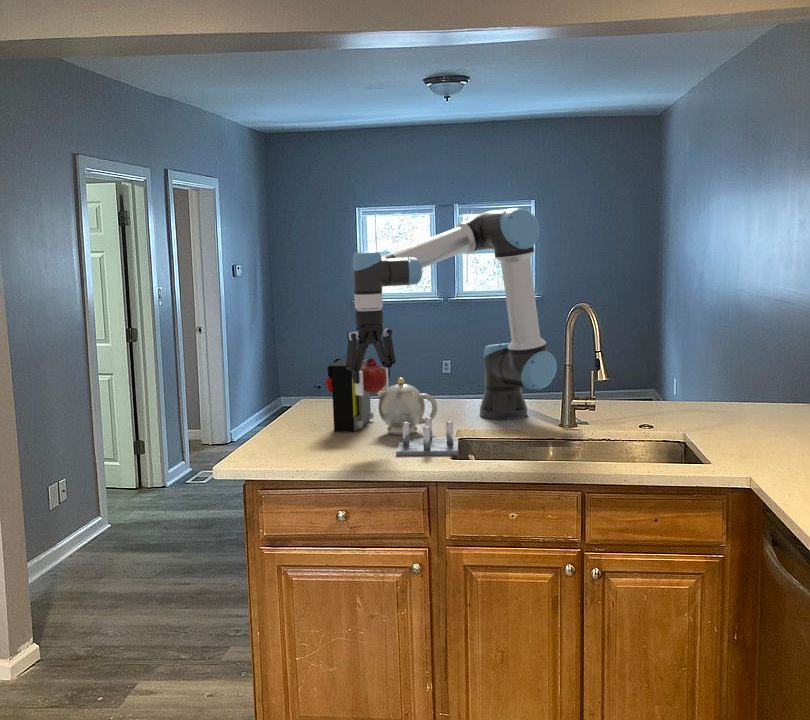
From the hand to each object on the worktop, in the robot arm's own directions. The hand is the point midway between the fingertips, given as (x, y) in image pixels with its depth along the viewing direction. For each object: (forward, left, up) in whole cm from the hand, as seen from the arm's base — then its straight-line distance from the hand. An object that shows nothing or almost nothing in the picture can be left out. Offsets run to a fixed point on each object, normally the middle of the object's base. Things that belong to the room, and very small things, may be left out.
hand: (372, 392), depth 231 cm
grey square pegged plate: (-15, +3, -15) cm, 21 cm away
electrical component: (+10, -28, -15) cm, 33 cm away
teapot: (-8, -17, -15) cm, 24 cm away
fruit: (0, 0, -1) cm, 1 cm away
